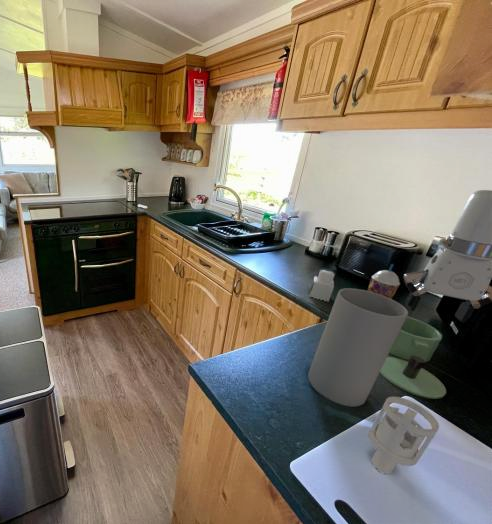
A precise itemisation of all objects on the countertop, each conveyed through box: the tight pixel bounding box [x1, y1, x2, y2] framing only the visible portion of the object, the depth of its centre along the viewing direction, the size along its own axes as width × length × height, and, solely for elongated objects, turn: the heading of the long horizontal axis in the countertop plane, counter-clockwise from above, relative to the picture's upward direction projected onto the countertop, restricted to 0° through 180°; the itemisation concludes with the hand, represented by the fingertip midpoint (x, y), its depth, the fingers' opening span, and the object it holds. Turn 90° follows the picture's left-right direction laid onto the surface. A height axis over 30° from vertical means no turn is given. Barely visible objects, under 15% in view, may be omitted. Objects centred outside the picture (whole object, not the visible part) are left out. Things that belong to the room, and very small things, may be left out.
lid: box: [379, 355, 447, 400], centre depth 77 cm, size 15×15×7 cm
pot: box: [389, 315, 443, 363], centre depth 89 cm, size 14×19×8 cm
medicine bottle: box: [308, 267, 337, 303], centre depth 119 cm, size 7×7×12 cm
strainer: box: [368, 396, 440, 475], centre depth 52 cm, size 7×7×15 cm
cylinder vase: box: [307, 287, 409, 408], centre depth 68 cm, size 12×12×25 cm
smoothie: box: [366, 263, 401, 300], centre depth 108 cm, size 8×8×20 cm
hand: (434, 313), depth 70 cm, fingers open, 9 cm apart
